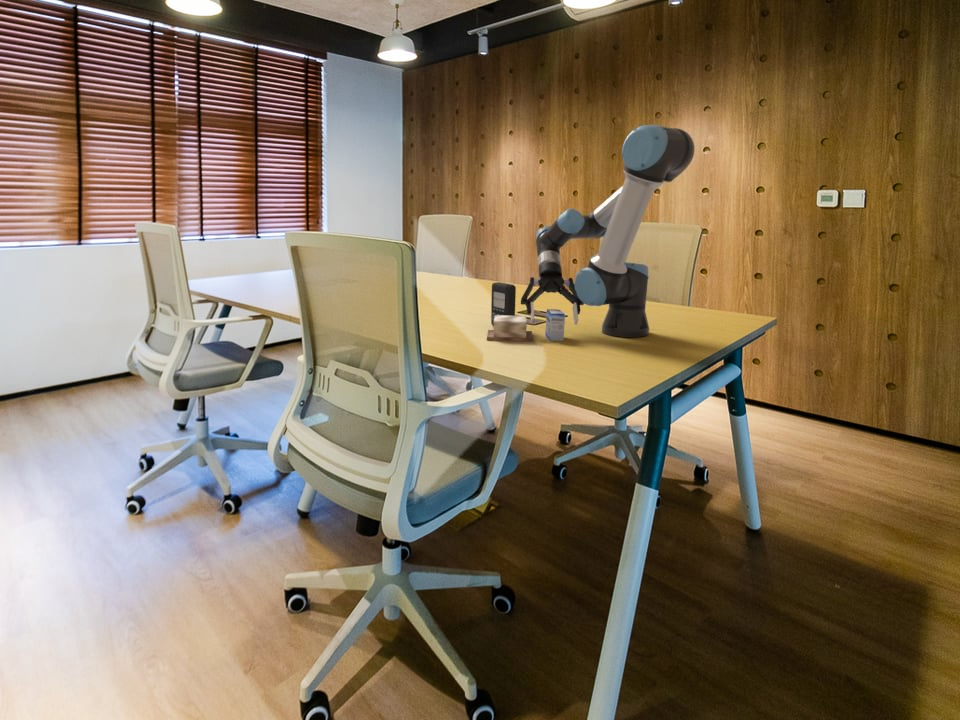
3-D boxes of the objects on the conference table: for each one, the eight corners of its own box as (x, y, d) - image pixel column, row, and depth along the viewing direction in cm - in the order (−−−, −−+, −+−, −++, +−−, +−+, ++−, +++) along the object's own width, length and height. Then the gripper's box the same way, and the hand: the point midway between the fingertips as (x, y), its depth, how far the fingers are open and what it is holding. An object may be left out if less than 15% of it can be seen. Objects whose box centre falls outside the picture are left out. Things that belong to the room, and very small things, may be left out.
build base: (531, 334, 196) (532, 315, 194) (532, 341, 185) (533, 322, 184) (488, 332, 196) (488, 314, 195) (486, 340, 186) (487, 321, 184)
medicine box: (544, 335, 194) (546, 309, 191) (558, 335, 194) (560, 309, 192) (549, 341, 186) (550, 313, 184) (563, 341, 186) (565, 313, 184)
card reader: (489, 326, 207) (490, 282, 204) (498, 324, 210) (499, 281, 206) (506, 330, 200) (507, 285, 196) (515, 329, 202) (516, 284, 199)
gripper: (585, 275, 202) (592, 328, 191) (511, 274, 201) (513, 328, 190) (589, 261, 196) (596, 315, 185) (512, 260, 195) (515, 314, 184)
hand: (554, 321), depth 188 cm, fingers open, 13 cm apart
